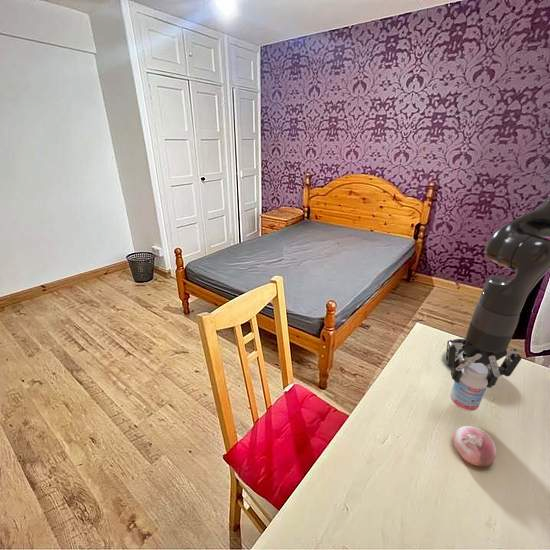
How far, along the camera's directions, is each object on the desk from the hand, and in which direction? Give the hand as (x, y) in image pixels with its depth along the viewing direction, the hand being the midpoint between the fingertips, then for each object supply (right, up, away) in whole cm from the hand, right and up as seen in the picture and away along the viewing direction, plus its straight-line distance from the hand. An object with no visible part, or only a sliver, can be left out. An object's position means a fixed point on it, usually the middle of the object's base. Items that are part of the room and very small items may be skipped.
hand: (471, 382), depth 71 cm
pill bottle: (0, -6, +3) cm, 7 cm away
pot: (+11, -2, +19) cm, 22 cm away
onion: (-3, -15, -4) cm, 16 cm away
